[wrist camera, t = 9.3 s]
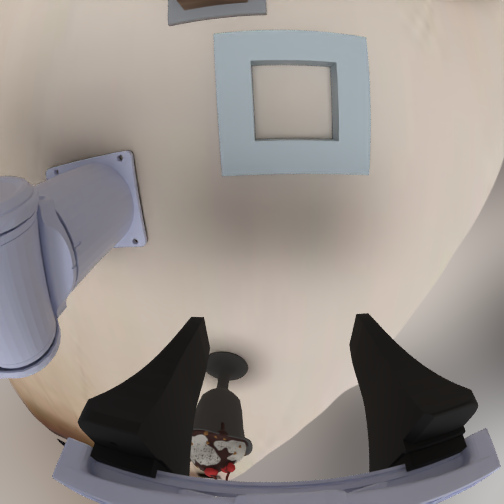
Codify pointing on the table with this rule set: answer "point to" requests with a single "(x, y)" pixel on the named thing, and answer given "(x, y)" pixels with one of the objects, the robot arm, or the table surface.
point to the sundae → (220, 420)
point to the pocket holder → (293, 150)
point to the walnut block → (205, 3)
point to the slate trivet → (213, 11)
